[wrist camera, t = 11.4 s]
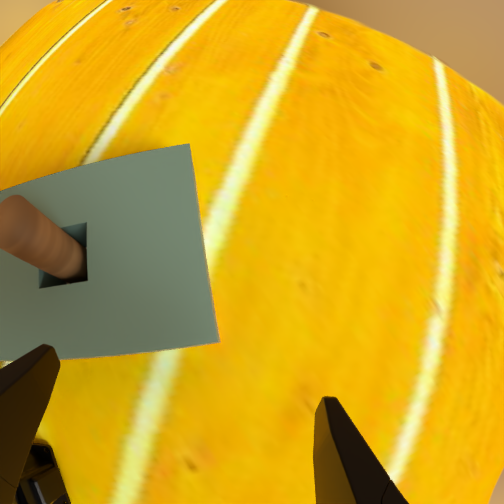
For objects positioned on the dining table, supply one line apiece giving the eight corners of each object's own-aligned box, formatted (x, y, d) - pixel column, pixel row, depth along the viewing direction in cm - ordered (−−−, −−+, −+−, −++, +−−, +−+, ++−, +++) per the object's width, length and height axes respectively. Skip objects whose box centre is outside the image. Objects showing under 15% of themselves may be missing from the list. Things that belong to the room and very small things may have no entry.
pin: (72, 291, 22) (-13, 252, 12) (71, 256, 23) (-7, 201, 13) (104, 287, 23) (26, 242, 12) (102, 251, 23) (31, 188, 13)
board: (9, 361, 20) (-26, 360, 16) (8, 219, 24) (-19, 198, 19) (220, 342, 23) (218, 341, 18) (195, 177, 26) (189, 143, 22)
